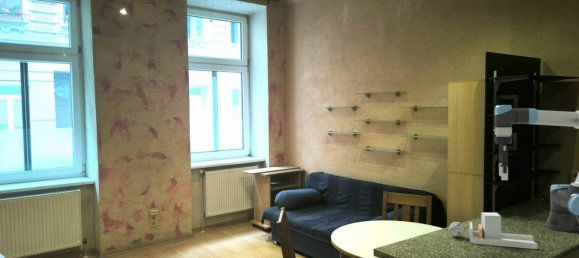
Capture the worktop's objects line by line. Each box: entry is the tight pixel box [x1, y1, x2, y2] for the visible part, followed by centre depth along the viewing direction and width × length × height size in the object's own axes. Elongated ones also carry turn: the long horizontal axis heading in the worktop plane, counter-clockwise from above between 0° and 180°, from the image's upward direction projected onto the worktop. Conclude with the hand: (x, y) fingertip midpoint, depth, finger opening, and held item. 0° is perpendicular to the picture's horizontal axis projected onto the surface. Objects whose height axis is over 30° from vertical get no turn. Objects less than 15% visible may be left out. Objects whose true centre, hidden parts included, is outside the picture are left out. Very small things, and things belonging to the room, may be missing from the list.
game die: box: [446, 220, 468, 239], centre depth 210 cm, size 9×8×10 cm
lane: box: [469, 221, 539, 250], centre depth 201 cm, size 28×13×7 cm, turn 68°
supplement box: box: [480, 212, 502, 240], centre depth 203 cm, size 7×7×13 cm
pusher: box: [478, 223, 482, 238], centre depth 205 cm, size 1×10×6 cm, turn 158°
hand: (503, 178), depth 212 cm, fingers open, 13 cm apart
